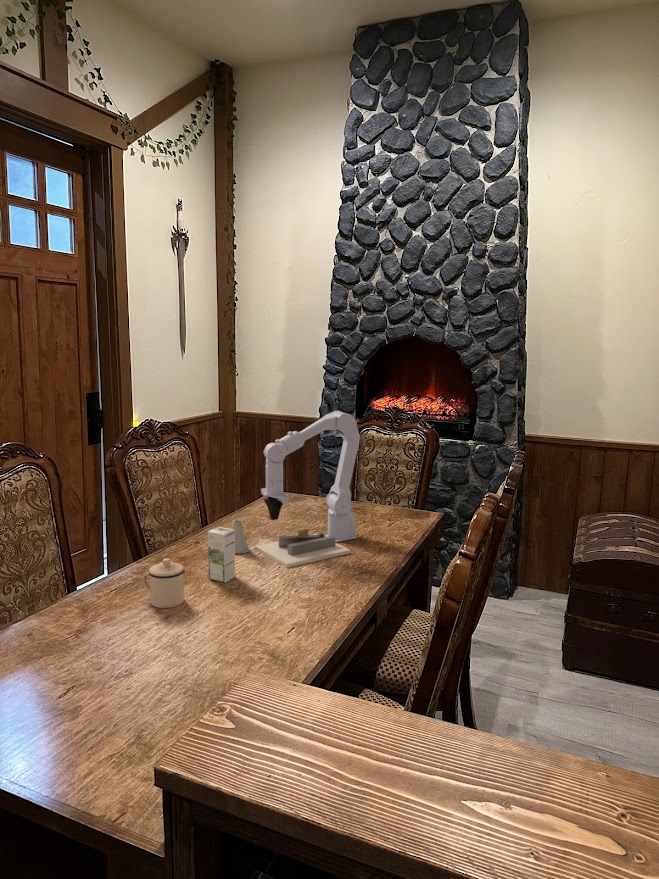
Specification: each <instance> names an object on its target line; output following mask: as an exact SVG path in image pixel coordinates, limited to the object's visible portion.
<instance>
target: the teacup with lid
mask: <svg viewBox="0 0 659 879" xmlns="http://www.w3.org/2000/svg"><path fill="white" fill-rule="evenodd" d="M185 571H186V570H185V567H184V566H183V565H182V564H180V563H177V562H173V561H171V559H170V558H162V561H161V562H160V563H157V564H154V565H153V566H151V567H149V569H148V571H147V572H145V573H144V574H143V575H142V578H141V581H142V585H143V586H144V588H145V589H146V590H147V591H149V595H150V596H149V598H150V604H151V606H153V607H154V608H157V609H171V608H175V607H178V606H180V605H182V604H183V603H184V601H185V576H184V574H185ZM147 576H149V583H148V581H147Z"/></svg>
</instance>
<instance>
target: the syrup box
mask: <svg viewBox="0 0 659 879" xmlns="http://www.w3.org/2000/svg"><path fill="white" fill-rule="evenodd" d="M207 549H208V550H207V552H208V554H207V557H208V560H207V561H208V580H211V581H215V582H221V583H224V584H225V583H227V582H229V581H230V579H231V580H233V579H234V578H235V577H236V554H235V530H234V528H229V527H221V526H217V527H214V528H211V529H210V530H208V531H207Z"/></svg>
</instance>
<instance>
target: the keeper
mask: <svg viewBox="0 0 659 879" xmlns="http://www.w3.org/2000/svg"><path fill="white" fill-rule="evenodd" d="M293 530H294V532H293V536H300V535H309V528H308V527H306V526H302V527H297V528H293Z"/></svg>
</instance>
